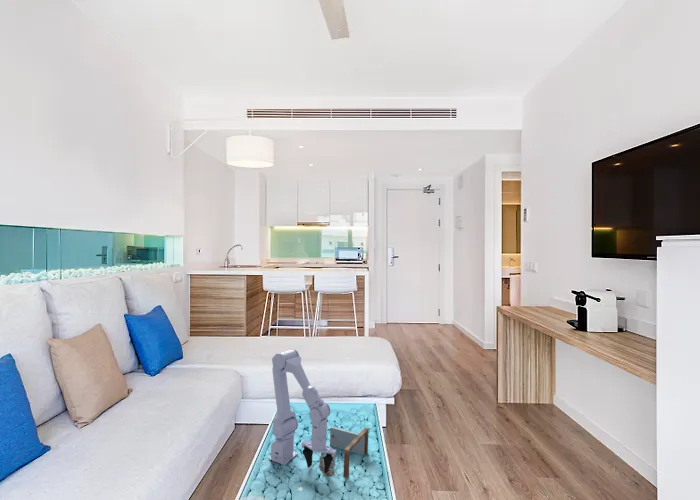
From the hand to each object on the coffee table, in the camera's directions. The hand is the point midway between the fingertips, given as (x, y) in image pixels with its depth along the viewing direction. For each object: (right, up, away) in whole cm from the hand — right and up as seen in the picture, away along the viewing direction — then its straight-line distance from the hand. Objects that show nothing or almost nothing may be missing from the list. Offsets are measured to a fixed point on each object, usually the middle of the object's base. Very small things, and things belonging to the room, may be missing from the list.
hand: (318, 469), depth 158 cm
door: (+11, 0, +16) cm, 19 cm away
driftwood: (+4, -2, +8) cm, 8 cm away
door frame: (+15, -1, +6) cm, 16 cm away
